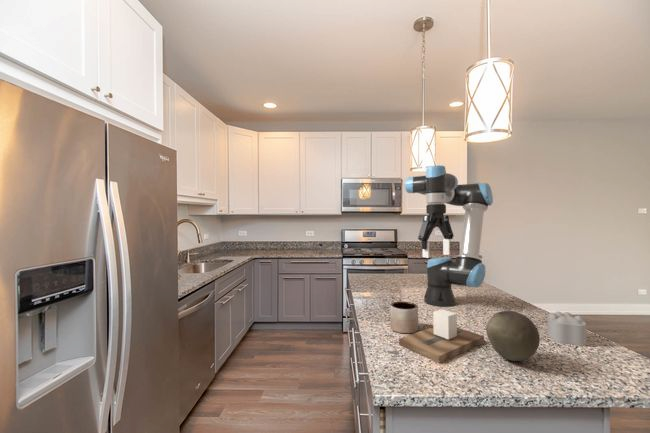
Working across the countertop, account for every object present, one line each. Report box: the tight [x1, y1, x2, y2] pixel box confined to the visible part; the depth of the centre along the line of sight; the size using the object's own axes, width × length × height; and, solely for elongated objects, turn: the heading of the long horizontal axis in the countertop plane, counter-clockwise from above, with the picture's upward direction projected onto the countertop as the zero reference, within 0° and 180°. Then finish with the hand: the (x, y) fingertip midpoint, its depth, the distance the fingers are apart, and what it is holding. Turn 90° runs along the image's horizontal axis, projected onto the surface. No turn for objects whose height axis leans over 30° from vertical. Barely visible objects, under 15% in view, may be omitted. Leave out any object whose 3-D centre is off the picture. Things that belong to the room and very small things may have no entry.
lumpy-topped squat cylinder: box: [546, 311, 588, 347], centre depth 109 cm, size 10×13×9 cm
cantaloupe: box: [486, 310, 541, 362], centre depth 93 cm, size 14×14×15 cm
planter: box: [389, 301, 419, 335], centre depth 120 cm, size 11×11×10 cm
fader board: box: [398, 326, 485, 364], centre depth 105 cm, size 26×16×2 cm, turn 124°
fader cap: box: [432, 309, 458, 340], centre depth 107 cm, size 5×6×8 cm
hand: (436, 256), depth 122 cm, fingers open, 13 cm apart
